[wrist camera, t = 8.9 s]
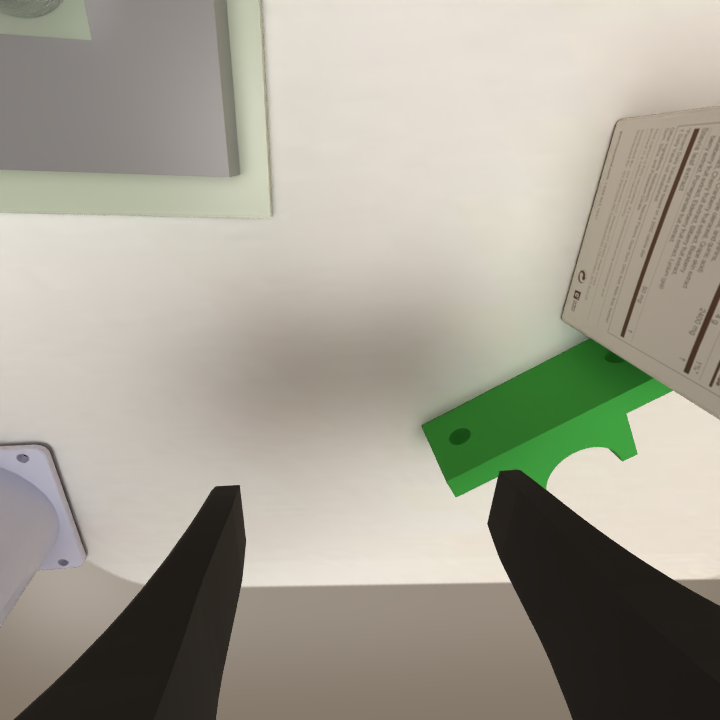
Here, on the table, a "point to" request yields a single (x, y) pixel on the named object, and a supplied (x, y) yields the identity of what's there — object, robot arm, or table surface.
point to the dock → (135, 110)
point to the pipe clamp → (543, 418)
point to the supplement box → (657, 253)
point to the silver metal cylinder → (28, 7)
